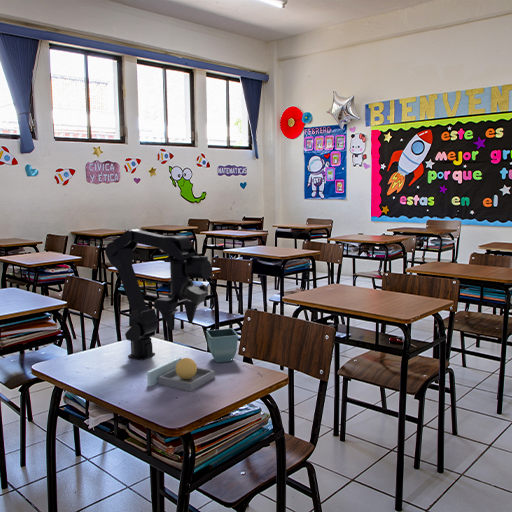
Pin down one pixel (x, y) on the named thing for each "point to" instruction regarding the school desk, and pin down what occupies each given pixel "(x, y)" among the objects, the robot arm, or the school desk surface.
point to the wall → (161, 371)
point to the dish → (189, 384)
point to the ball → (186, 368)
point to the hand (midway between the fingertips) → (181, 326)
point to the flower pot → (222, 344)
